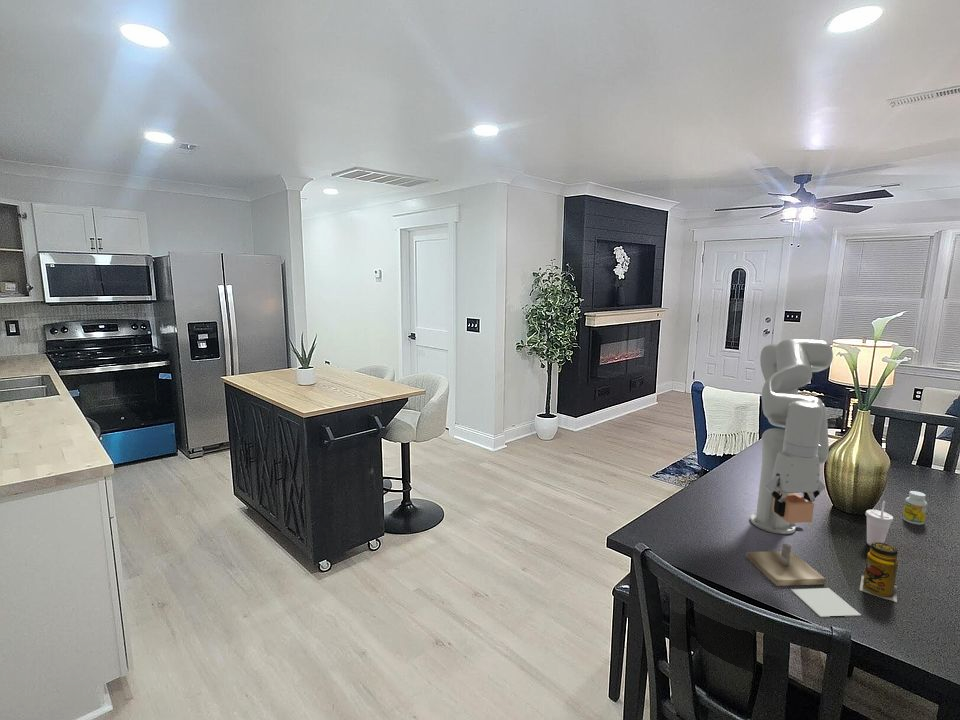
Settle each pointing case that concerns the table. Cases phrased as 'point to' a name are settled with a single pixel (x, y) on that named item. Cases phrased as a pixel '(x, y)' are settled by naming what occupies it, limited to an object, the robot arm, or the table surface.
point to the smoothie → (877, 525)
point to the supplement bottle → (915, 508)
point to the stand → (785, 567)
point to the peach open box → (796, 509)
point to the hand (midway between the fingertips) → (791, 513)
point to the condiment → (881, 571)
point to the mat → (825, 602)
